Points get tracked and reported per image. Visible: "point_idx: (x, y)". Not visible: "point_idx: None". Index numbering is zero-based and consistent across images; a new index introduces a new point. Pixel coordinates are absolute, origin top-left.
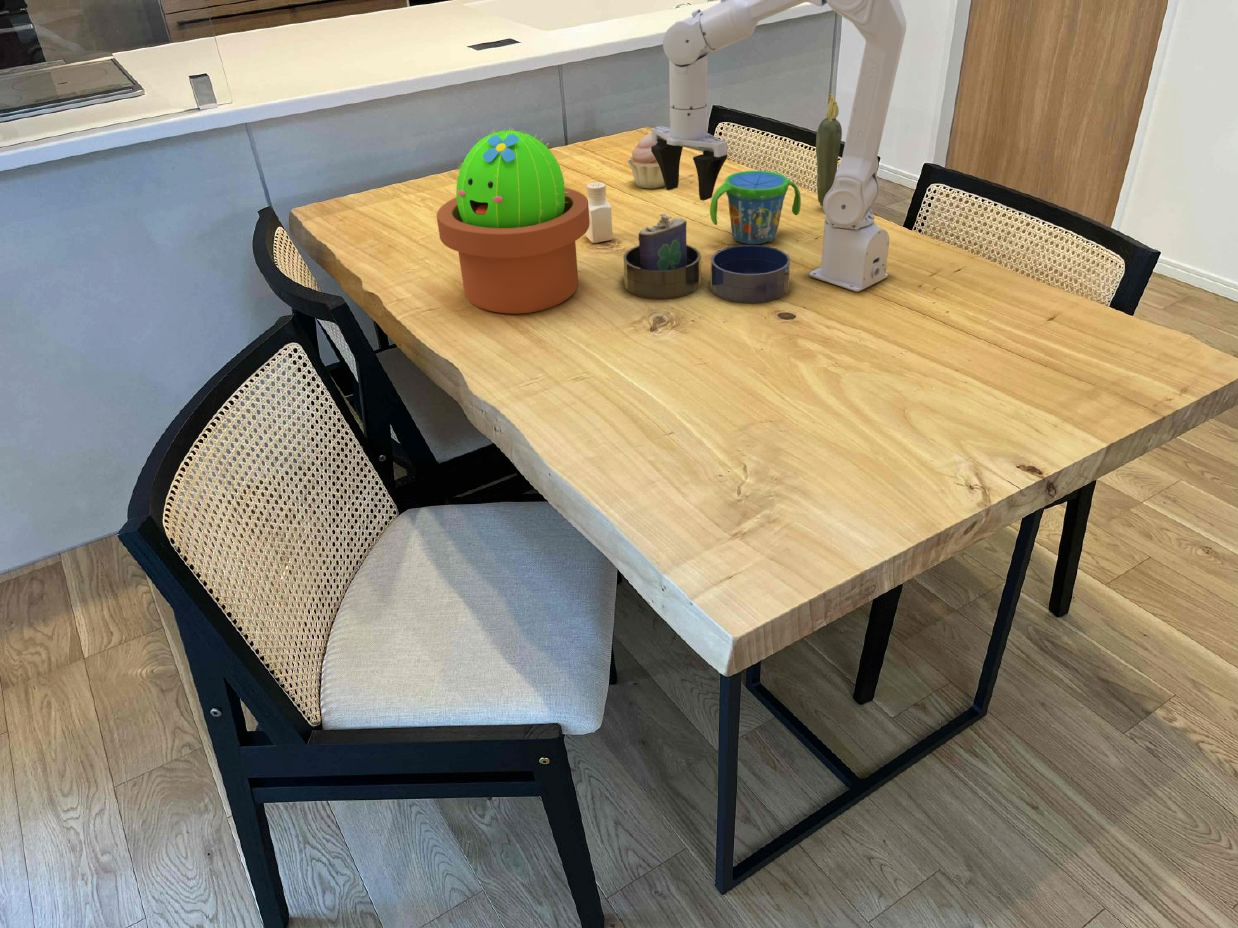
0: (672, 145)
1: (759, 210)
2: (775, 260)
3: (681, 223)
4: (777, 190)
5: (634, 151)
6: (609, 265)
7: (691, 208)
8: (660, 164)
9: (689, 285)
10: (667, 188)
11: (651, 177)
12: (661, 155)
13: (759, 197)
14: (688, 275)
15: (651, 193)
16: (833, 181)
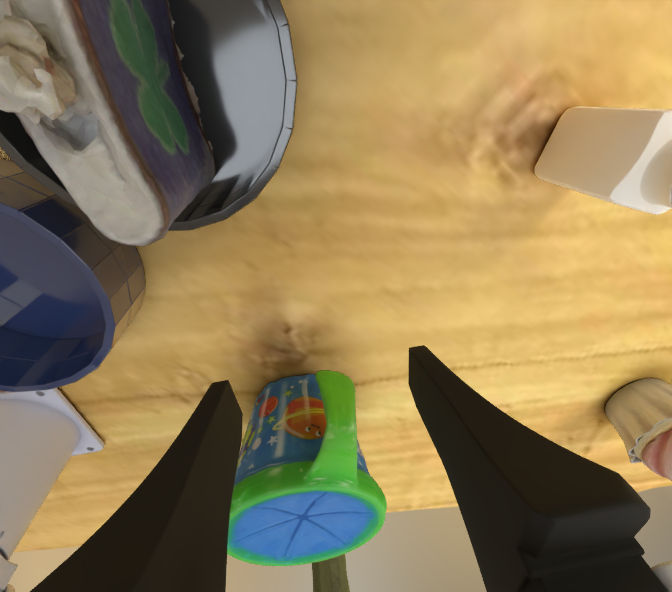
0: (515, 586)
1: (240, 459)
2: (55, 364)
3: (74, 199)
4: None
5: None
6: (408, 31)
7: (497, 393)
8: (497, 423)
9: None
10: (418, 351)
11: (639, 406)
12: (509, 483)
13: None
14: None
15: (609, 379)
16: (312, 566)
